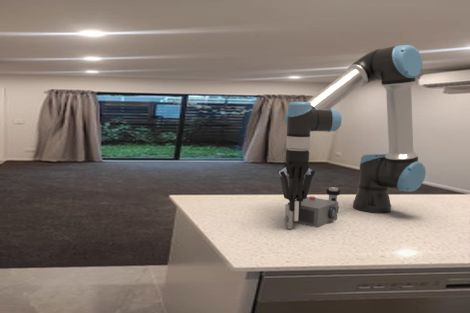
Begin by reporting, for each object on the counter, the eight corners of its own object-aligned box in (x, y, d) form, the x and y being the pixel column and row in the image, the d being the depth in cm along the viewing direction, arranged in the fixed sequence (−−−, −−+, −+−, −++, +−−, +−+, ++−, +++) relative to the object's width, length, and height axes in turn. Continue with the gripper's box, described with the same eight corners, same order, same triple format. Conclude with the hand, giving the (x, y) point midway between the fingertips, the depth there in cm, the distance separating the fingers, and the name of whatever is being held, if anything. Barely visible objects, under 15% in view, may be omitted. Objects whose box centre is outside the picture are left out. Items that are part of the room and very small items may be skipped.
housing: (308, 213, 156) (309, 194, 155) (340, 219, 147) (341, 200, 147) (286, 220, 143) (287, 200, 142) (320, 228, 135) (321, 207, 134)
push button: (329, 215, 154) (331, 189, 152) (319, 212, 158) (321, 187, 157) (341, 213, 157) (343, 188, 156) (331, 210, 162) (333, 186, 161)
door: (287, 219, 143) (288, 204, 142) (291, 228, 131) (292, 212, 130) (282, 219, 143) (283, 204, 142) (286, 228, 131) (287, 212, 130)
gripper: (308, 148, 136) (305, 215, 139) (274, 148, 132) (272, 218, 135) (320, 150, 130) (317, 221, 132) (285, 150, 125) (282, 224, 128)
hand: (294, 219), depth 133 cm, fingers closed
